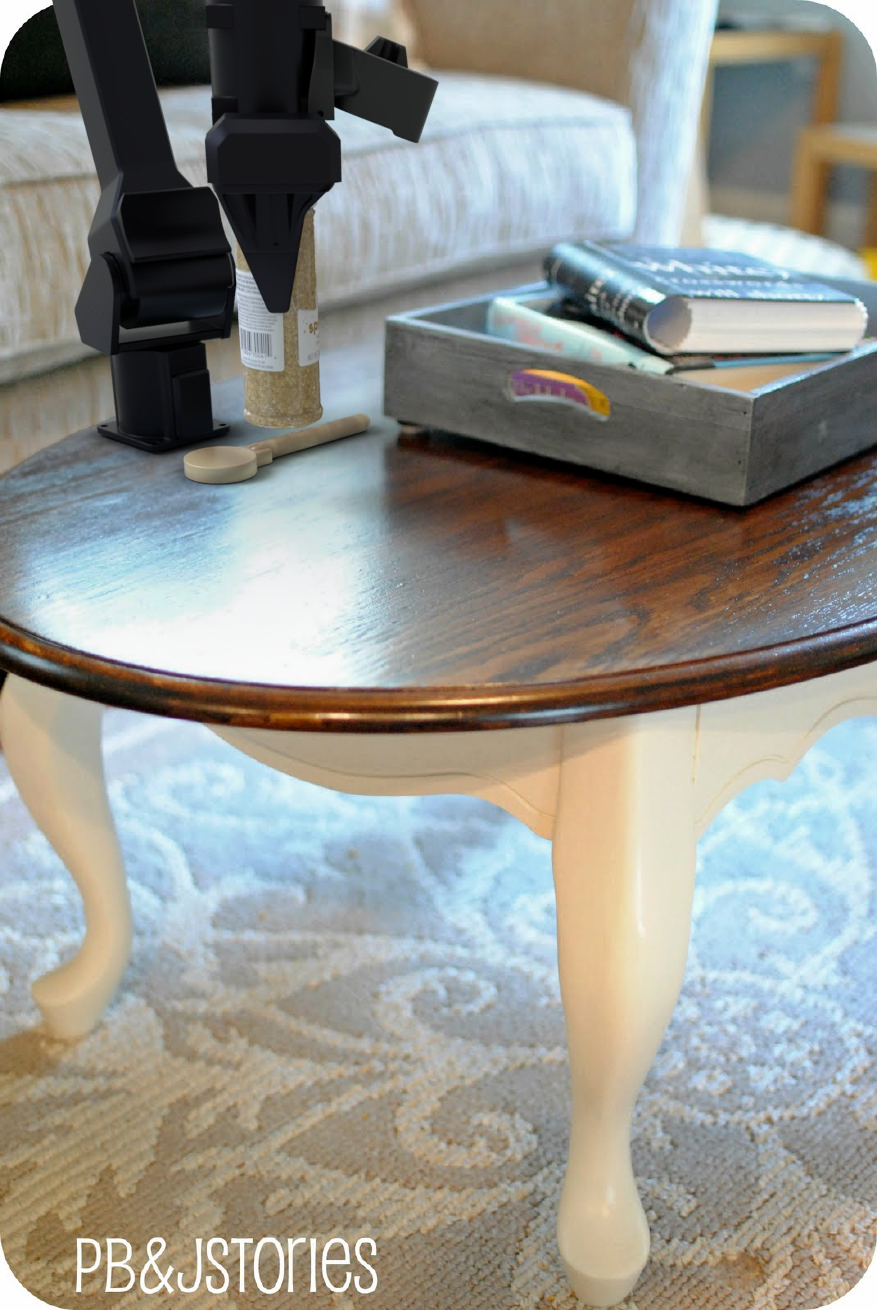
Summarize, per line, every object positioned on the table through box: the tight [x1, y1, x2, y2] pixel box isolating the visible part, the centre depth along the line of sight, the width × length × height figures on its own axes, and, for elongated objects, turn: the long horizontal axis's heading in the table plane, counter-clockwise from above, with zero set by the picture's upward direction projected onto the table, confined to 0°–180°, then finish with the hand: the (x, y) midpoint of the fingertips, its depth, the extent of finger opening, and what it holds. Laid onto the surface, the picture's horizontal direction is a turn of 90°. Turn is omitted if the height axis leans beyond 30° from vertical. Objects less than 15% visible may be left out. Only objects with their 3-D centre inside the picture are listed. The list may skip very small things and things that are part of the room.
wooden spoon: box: [183, 413, 371, 485], centre depth 87 cm, size 15×4×1 cm, turn 137°
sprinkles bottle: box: [234, 201, 324, 430], centre depth 74 cm, size 5×5×13 cm
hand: (277, 303), depth 74 cm, fingers closed on sprinkles bottle, 4 cm apart
